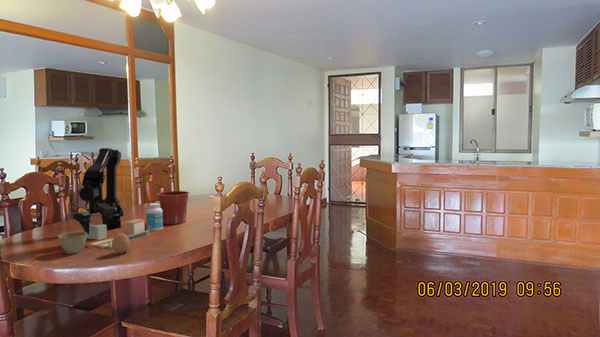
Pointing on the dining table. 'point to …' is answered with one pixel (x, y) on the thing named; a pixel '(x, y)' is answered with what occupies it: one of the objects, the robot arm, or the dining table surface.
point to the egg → (120, 243)
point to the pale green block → (97, 231)
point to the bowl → (73, 241)
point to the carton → (134, 226)
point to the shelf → (109, 241)
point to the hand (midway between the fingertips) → (96, 232)
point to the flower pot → (173, 206)
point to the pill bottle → (154, 217)
